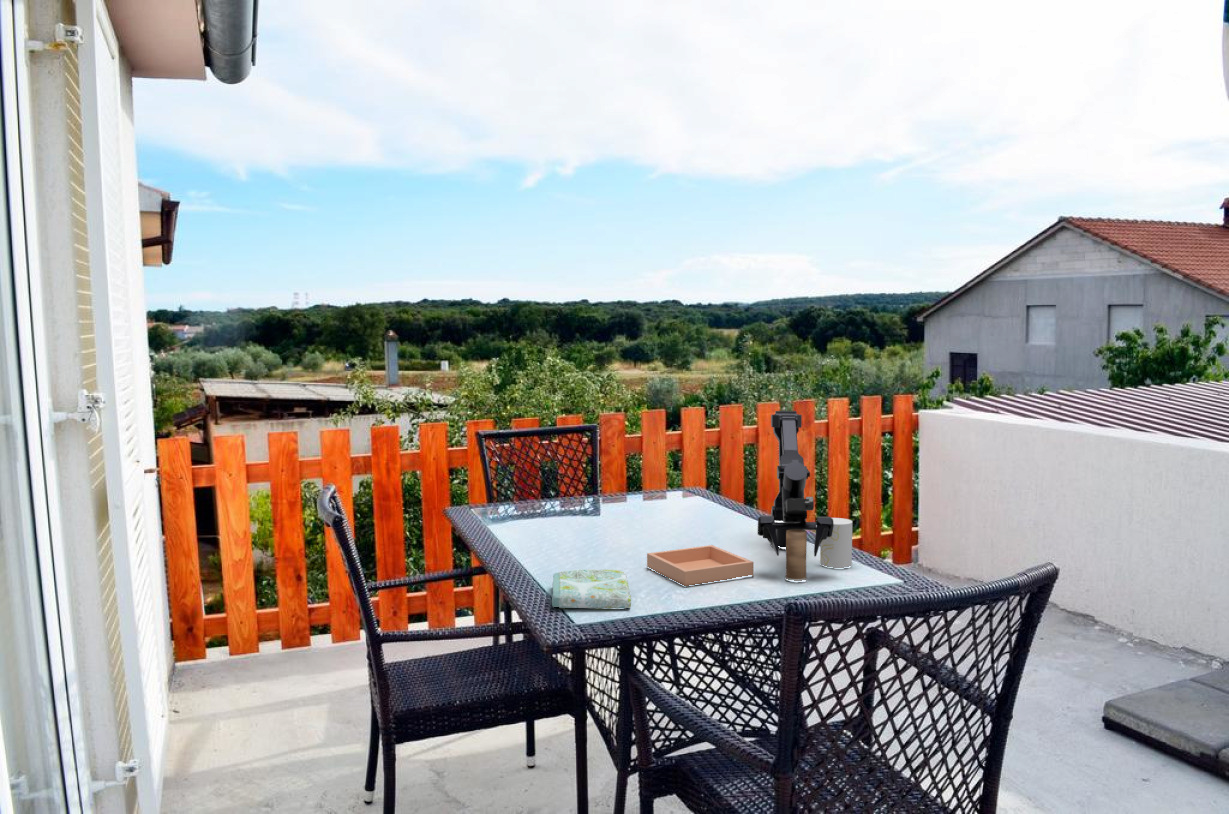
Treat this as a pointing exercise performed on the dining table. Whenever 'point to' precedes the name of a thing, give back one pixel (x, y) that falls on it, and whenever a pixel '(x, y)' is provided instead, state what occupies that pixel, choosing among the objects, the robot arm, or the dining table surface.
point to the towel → (591, 589)
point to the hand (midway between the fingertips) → (796, 555)
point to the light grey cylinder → (838, 545)
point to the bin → (699, 565)
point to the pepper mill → (796, 554)
